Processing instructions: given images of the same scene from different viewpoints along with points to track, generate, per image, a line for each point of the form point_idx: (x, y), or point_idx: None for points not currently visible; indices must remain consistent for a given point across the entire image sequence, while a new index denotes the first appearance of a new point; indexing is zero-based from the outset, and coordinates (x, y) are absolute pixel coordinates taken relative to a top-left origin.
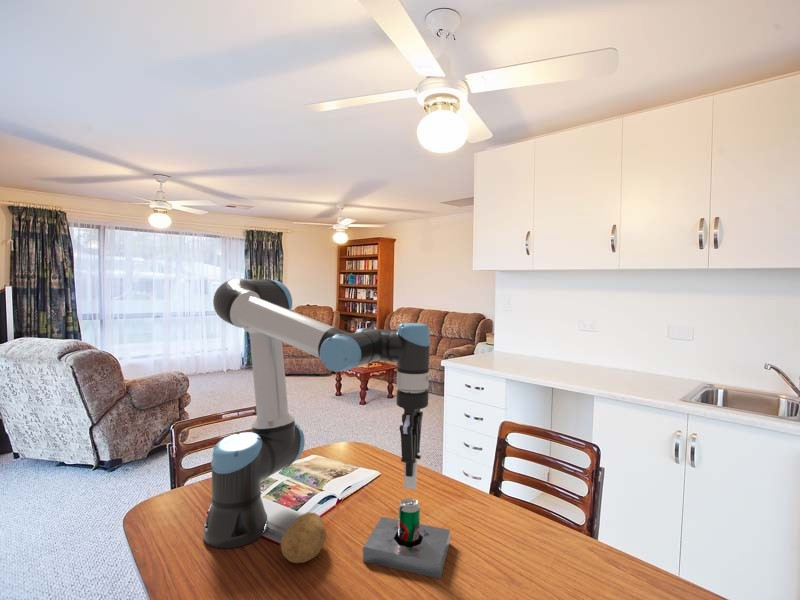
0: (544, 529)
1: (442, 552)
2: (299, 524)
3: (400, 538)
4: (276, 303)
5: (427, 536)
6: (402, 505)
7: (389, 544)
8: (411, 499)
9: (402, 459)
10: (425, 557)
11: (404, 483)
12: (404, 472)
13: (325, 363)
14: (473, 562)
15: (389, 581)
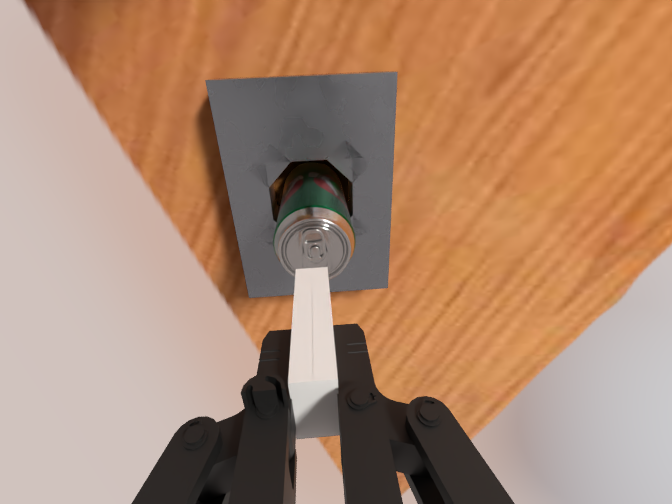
0: (476, 402)
1: (289, 292)
2: None
3: (285, 188)
4: None
5: None
6: (283, 234)
7: (258, 160)
8: (347, 248)
9: (164, 454)
10: (251, 264)
11: (296, 283)
12: (292, 322)
13: None
14: (333, 320)
15: (188, 180)
